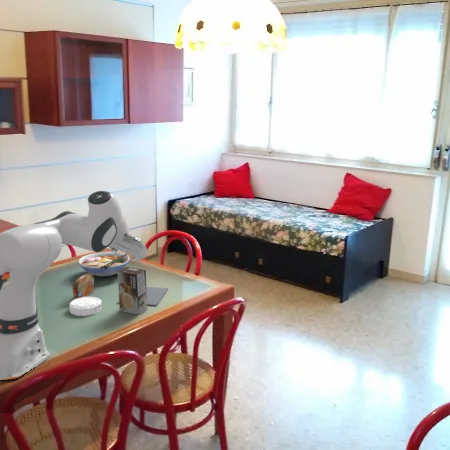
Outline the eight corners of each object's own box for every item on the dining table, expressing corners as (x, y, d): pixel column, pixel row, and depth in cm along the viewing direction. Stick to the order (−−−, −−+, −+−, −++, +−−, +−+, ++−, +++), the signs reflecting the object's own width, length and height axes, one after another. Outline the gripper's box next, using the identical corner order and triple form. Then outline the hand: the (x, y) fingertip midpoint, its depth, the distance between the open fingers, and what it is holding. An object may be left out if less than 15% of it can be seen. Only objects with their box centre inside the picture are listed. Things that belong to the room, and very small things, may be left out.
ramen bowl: (97, 263, 251) (97, 247, 249) (140, 268, 244) (139, 252, 242) (67, 280, 228) (66, 263, 226) (113, 286, 221) (112, 268, 219)
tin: (79, 303, 204) (78, 283, 202) (72, 302, 204) (70, 282, 202) (96, 289, 218) (95, 270, 216) (89, 289, 219) (88, 270, 217)
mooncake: (72, 318, 190) (72, 309, 189) (67, 307, 201) (66, 298, 200) (105, 313, 195) (104, 304, 194) (98, 301, 206) (97, 293, 205)
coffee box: (148, 309, 198) (147, 269, 195) (138, 315, 193) (137, 274, 189) (128, 305, 202) (126, 266, 198) (118, 311, 197) (116, 271, 193)
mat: (156, 306, 201) (156, 304, 201) (117, 303, 203) (117, 302, 203) (168, 289, 218) (168, 288, 218) (131, 287, 221) (131, 286, 220)
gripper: (145, 233, 164) (155, 259, 174) (96, 213, 172) (109, 239, 183) (134, 247, 161) (144, 273, 171) (84, 226, 169) (97, 252, 179)
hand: (125, 255), depth 177 cm, fingers open, 8 cm apart
